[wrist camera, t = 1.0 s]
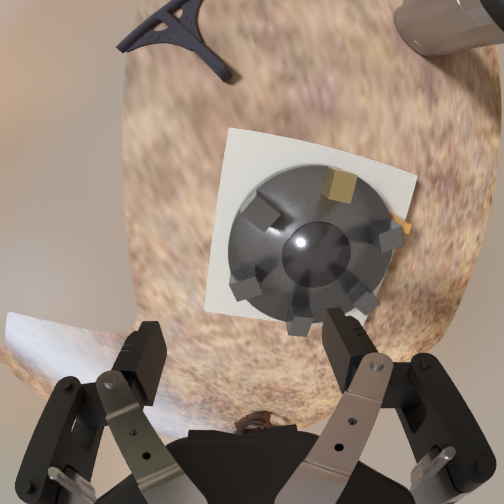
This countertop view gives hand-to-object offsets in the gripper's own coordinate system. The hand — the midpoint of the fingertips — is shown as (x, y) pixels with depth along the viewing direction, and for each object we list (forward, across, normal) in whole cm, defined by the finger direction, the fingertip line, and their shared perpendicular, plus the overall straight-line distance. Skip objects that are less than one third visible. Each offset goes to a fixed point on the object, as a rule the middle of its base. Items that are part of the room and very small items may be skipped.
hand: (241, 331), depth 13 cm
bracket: (+23, +4, -23) cm, 33 cm away
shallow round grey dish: (+20, -8, +4) cm, 22 cm away
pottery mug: (+27, 0, +48) cm, 55 cm away
